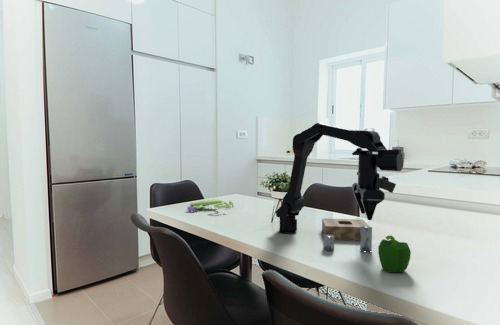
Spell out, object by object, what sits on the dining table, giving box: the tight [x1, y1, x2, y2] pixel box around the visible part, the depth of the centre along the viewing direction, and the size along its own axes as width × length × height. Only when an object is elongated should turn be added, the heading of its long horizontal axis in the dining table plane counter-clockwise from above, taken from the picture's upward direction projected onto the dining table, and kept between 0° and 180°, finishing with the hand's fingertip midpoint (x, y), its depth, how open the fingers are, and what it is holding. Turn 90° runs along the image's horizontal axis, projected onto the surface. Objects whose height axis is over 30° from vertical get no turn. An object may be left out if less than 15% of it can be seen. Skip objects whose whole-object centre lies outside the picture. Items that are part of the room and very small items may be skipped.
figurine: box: [187, 198, 234, 213], centre depth 169 cm, size 18×27×6 cm
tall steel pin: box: [359, 225, 373, 252], centre depth 104 cm, size 4×4×8 cm
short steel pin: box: [322, 234, 335, 252], centre depth 106 cm, size 4×4×4 cm
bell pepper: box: [377, 235, 412, 273], centre depth 89 cm, size 8×8×10 cm
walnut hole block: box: [321, 218, 370, 241], centre depth 122 cm, size 16×12×5 cm
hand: (366, 216), depth 104 cm, fingers open, 9 cm apart
